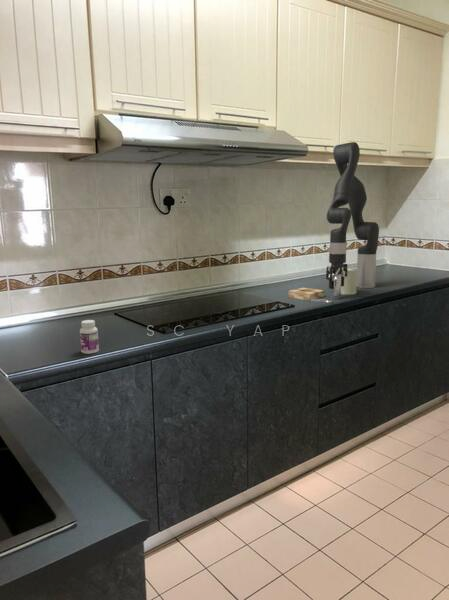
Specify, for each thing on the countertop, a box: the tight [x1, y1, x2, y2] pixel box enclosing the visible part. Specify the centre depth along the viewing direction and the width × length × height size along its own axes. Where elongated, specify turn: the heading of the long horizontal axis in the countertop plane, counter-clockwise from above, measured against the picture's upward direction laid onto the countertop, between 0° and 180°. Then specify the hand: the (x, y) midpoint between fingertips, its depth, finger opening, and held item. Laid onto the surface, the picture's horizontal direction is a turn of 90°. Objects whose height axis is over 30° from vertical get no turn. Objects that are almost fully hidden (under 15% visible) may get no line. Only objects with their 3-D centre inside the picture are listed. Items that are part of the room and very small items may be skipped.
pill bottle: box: [79, 319, 100, 355], centre depth 149 cm, size 5×5×10 cm
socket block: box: [287, 287, 325, 301], centre depth 227 cm, size 12×12×3 cm
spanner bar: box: [310, 298, 333, 304], centre depth 216 cm, size 11×3×1 cm, turn 45°
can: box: [341, 267, 357, 296], centre depth 235 cm, size 9×9×12 cm
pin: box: [332, 274, 342, 300], centre depth 223 cm, size 4×4×11 cm
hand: (336, 287), depth 223 cm, fingers open, 8 cm apart
